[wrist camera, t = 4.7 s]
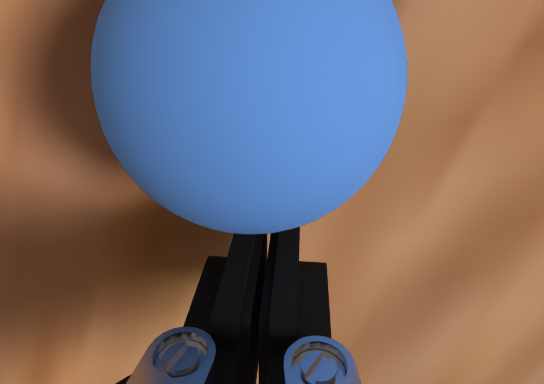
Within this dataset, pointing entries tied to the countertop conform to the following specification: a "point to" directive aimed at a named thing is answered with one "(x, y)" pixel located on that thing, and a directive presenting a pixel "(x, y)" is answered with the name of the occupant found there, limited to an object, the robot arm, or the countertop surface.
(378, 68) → the ball
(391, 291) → the countertop surface
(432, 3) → the countertop surface
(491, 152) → the countertop surface
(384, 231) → the countertop surface
